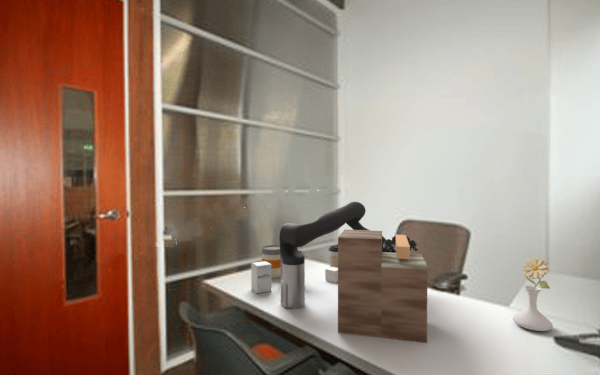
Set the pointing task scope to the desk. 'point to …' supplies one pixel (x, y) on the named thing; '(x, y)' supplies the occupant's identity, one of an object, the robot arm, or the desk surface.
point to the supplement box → (261, 277)
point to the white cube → (331, 274)
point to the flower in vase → (534, 297)
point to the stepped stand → (380, 289)
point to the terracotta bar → (402, 247)
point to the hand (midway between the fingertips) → (401, 238)
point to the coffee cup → (333, 256)
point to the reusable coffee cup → (272, 259)
